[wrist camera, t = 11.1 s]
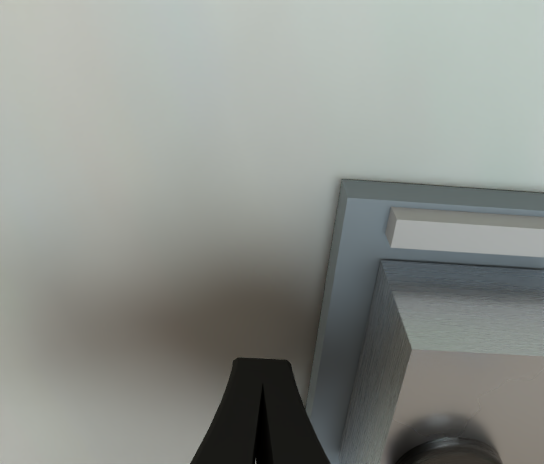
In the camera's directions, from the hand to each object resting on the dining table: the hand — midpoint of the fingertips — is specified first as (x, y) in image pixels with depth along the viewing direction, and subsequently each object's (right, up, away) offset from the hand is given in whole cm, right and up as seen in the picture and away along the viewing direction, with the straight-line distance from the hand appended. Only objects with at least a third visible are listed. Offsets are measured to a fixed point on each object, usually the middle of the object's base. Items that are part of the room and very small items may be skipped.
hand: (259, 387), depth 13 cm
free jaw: (+5, 0, +1) cm, 5 cm away
